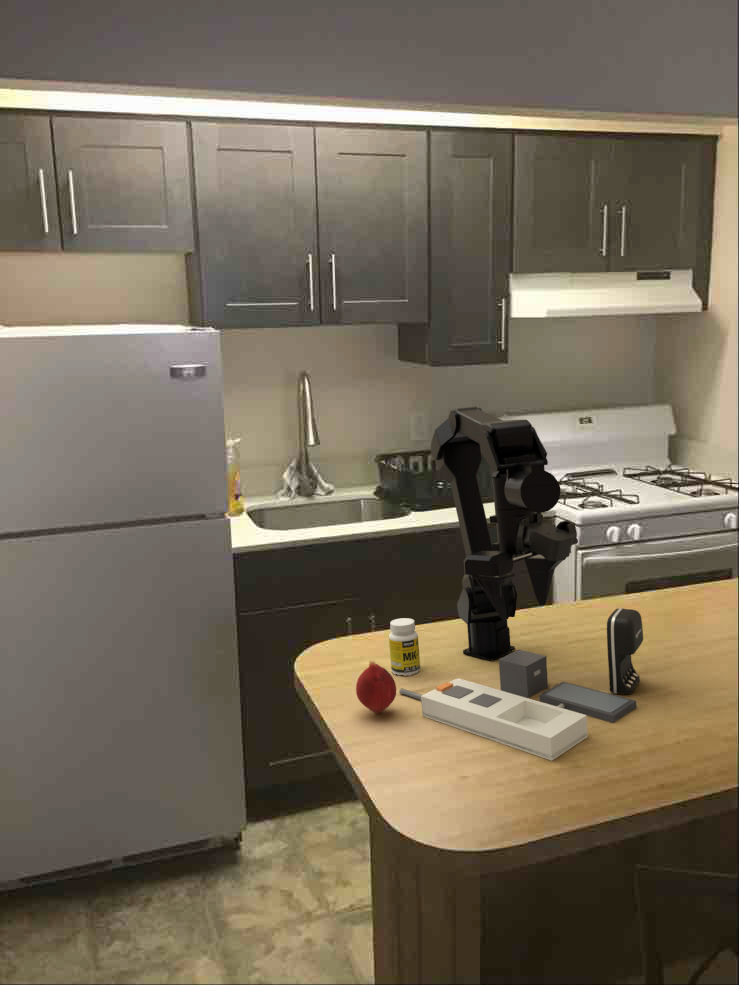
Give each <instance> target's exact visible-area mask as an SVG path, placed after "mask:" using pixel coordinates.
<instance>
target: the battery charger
mask: <svg viewBox="0 0 739 985" xmlns="http://www.w3.org/2000/svg"><path fill="white" fill-rule="evenodd" d="M642 619H643V618H642V616H641V613H640V611H638V610H636V609H629V608H623V607H619V608H616V609H615V610H614V611H612V612H611V613H610V615H609V617H608V618H607V621H606V644H607V646H606V647H607V662H608V663H607V664H608V679H609V680H608V681H609V682H608V683H609V684H608V685H609V692H610V693H611V694H612V693H613V694H614V695H617V694H621V695H622V694H623V695H629V694H632V693H633V692H634V691H635V689H636V688H637V686H638V684H639V682H640V680H641V677H640V675H639V674H638V673H637V671H636V669H635V667H634V665H633V663H632V662H633V661H632V655H634V654H635V653H636V652H637V650H638V649H639V648H640V646H641V645H642V644H643V641H644V633H643V630H644V629H643V621H642Z"/></svg>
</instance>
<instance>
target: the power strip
mask: <svg viewBox="0 0 739 985" xmlns="http://www.w3.org/2000/svg"><path fill="white" fill-rule="evenodd" d="M399 694H401V695H403V696H407V697H410V698H414V699H417V700H419V701H420V702H421V716H422V717H424V718H427V719H431V720H433V721H436V722H439V723H442V724H445V725H447V726H449V727H450V726H451V727H453V728H455V729H458V730H462V731H465V732H466V733H467V732H468V733H470V734H473V735H477V736H479V737H482V738H485V739H487V740H491V741H493V742H497V743H500V744H502V745H505V746H508V747H511V748H513V749H516V750H520V751H522V752H526V753H528V754H531V755H535V756H536V757H539V758H542V759H546V760H549V761H554V760H555V759H557V758H558V757H560V756H561V755H563V754H564V753H566V752H567V751H569V750H570V749H572V748H573V747H575V746H576V745H578V744H579V743H581V742H583V740H585V739H587V738H588V717H587V716H588V715H585V714H581V713H578V712H574V711H571V710H567V709H563V708H560V707H557V706H553V705H550V704H547V703H543V702H540V701H538V700H534V699H531V698H525V697H522V696H518V695H515V694H511V693H508V692H504V691H501V689H497V688H493V687H490V686H487V685H483V684H480V683H476V682H472V681H470V680H465V679H463V678H459V677H458V678H455V679H453V680H451V681H445V682H444V683H442V684H440V685H438V686H436V687H435V688H434V689H432V690H430V691H429V692H426V693H425V694H421V693H417V692H415V691H412V690H408V689H406V688H400V689H399Z"/></svg>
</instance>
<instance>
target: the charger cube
mask: <svg viewBox="0 0 739 985" xmlns="http://www.w3.org/2000/svg"><path fill="white" fill-rule="evenodd" d="M547 661H548V660H547V655H543V654H539V653H535V652H531V651H527V650H523V649H517V650H516V651H515V650H514V651H512V652H510V653H508V654H506V655H504V656H502V657H500V658H498V669H499V684H500V690H501V691H504V692H508V693H511V694H515V695H518V696H522V697H525V698H528V699H531V697H534V696H535V695H537V694H538V693H541V692H542V691H544V690H546V689H549V681H548V666H547V665H548V662H547Z"/></svg>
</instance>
